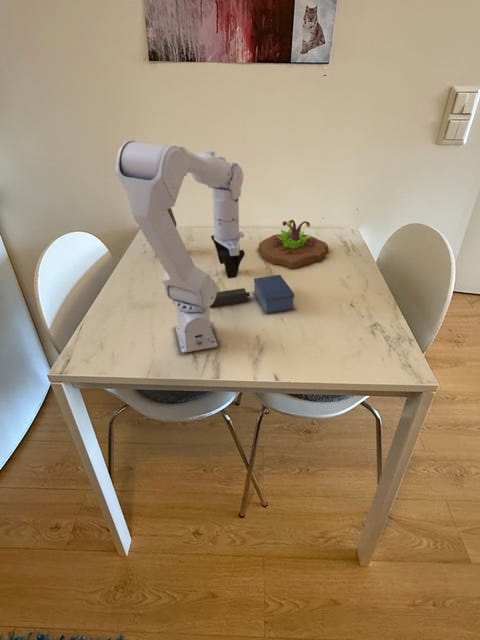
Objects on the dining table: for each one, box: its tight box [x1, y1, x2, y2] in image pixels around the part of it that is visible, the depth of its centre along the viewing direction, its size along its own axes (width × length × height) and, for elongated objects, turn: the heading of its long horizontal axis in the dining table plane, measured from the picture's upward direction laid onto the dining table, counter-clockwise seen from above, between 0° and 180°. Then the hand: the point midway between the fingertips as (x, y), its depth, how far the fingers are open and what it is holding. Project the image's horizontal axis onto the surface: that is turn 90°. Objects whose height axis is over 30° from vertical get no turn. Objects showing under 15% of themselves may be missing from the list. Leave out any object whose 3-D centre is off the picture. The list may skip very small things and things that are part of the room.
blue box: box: [253, 274, 296, 314], centre depth 105 cm, size 10×7×4 cm
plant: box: [258, 219, 329, 270], centre depth 125 cm, size 20×20×11 cm
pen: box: [211, 287, 251, 308], centre depth 105 cm, size 12×3×3 cm, turn 105°
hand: (228, 269), depth 100 cm, fingers open, 7 cm apart
